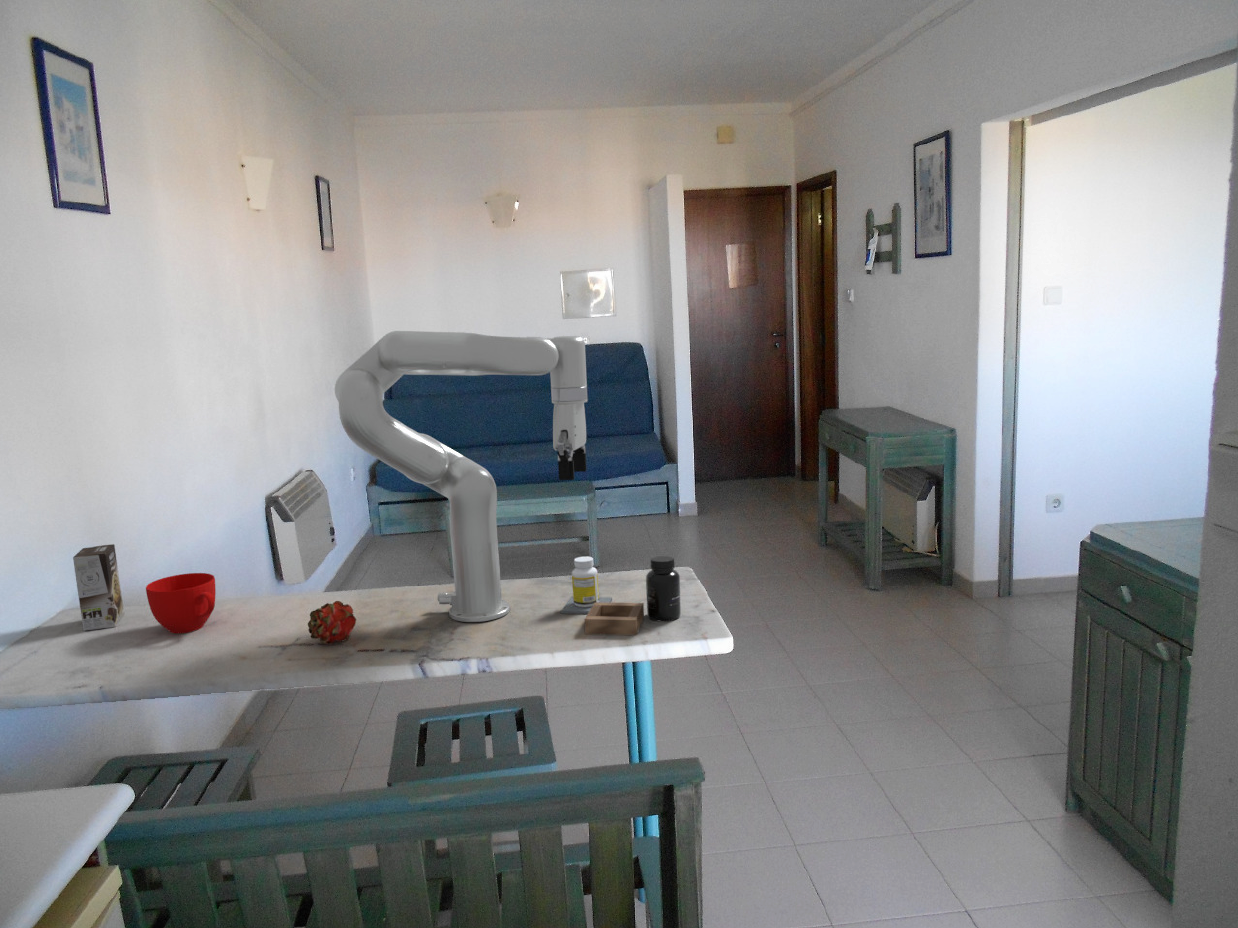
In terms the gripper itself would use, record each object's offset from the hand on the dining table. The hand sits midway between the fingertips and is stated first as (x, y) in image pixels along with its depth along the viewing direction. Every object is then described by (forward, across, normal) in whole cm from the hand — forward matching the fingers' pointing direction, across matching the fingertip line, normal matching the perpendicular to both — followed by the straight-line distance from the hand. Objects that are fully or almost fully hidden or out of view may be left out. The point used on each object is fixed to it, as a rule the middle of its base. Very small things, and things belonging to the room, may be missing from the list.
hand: (573, 475), depth 194 cm
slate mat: (+27, +6, +4) cm, 28 cm away
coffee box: (+28, +27, -98) cm, 106 cm away
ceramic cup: (+28, +28, -75) cm, 85 cm away
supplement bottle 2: (+27, +10, +21) cm, 36 cm away
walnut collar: (+27, +17, +12) cm, 34 cm away
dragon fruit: (+28, +31, -41) cm, 58 cm away
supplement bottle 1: (+26, +6, +3) cm, 27 cm away
